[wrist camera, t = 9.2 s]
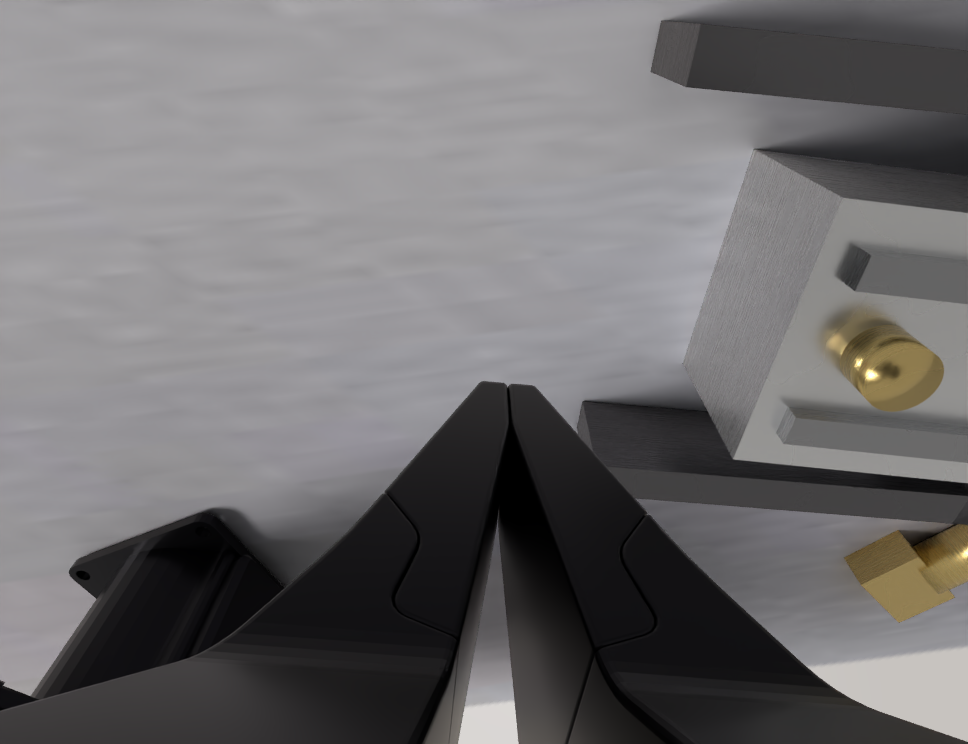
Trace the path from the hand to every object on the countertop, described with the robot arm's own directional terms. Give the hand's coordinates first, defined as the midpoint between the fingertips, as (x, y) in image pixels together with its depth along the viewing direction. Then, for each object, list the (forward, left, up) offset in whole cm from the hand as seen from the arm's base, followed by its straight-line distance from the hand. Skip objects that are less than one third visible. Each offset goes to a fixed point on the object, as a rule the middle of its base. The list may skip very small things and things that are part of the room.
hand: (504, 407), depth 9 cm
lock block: (+8, -5, -8) cm, 12 cm away
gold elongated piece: (+11, -16, -8) cm, 20 cm away
